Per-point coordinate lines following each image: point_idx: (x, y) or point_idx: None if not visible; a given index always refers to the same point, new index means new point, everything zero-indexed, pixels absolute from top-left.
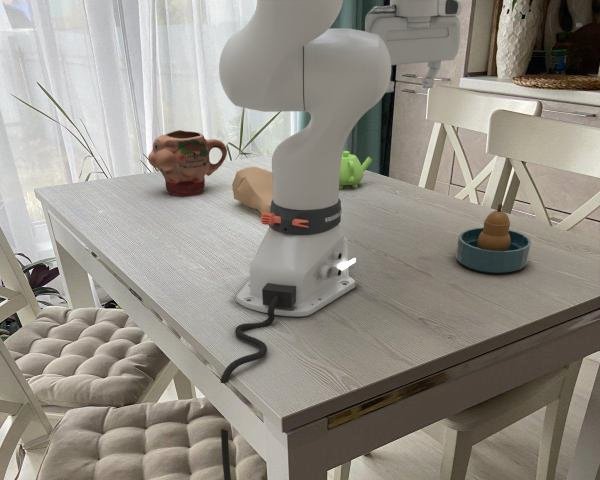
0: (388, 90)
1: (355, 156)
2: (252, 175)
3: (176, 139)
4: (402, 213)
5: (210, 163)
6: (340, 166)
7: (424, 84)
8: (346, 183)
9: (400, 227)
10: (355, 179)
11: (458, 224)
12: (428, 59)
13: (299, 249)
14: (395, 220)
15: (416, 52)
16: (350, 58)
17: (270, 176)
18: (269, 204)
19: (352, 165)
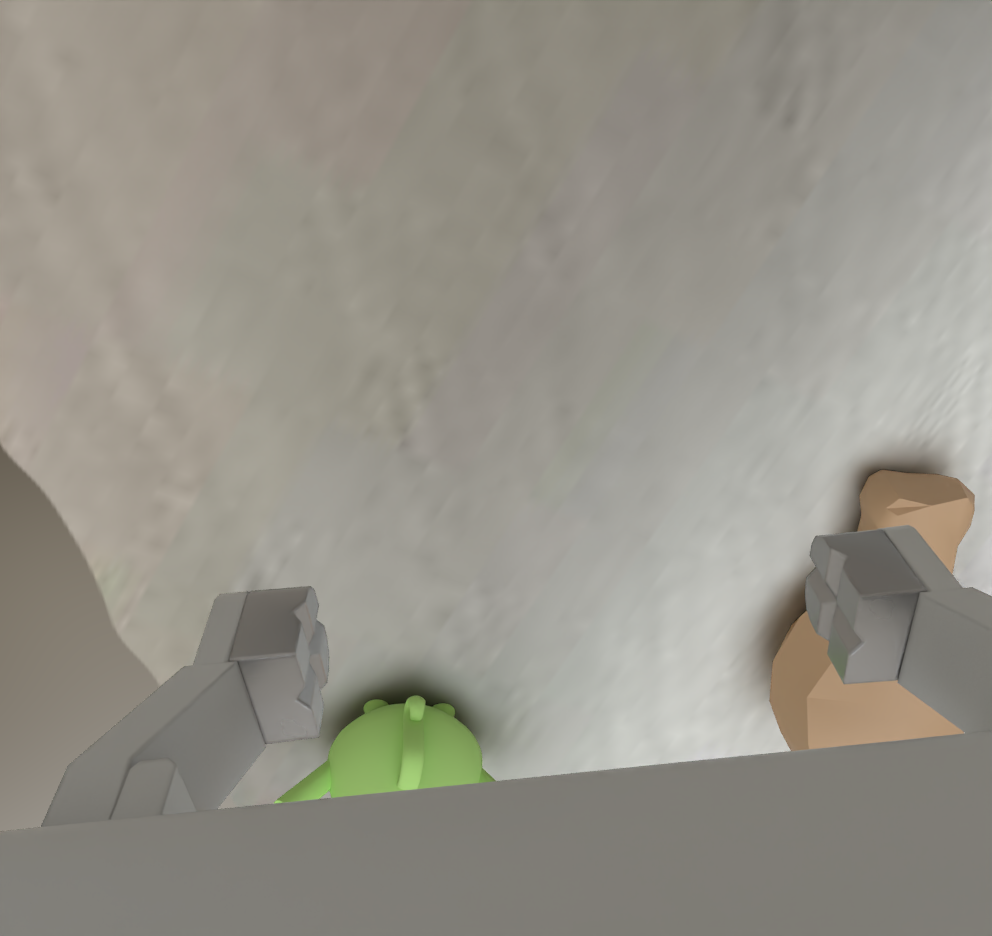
0: (908, 528)
1: None
2: (933, 715)
3: None
4: (351, 354)
5: None
6: (449, 777)
7: (315, 651)
8: (429, 707)
9: (463, 180)
10: (391, 712)
11: (149, 83)
12: (339, 819)
13: None
14: (433, 281)
15: (657, 914)
16: None
17: (835, 716)
18: (961, 509)
19: (412, 756)
